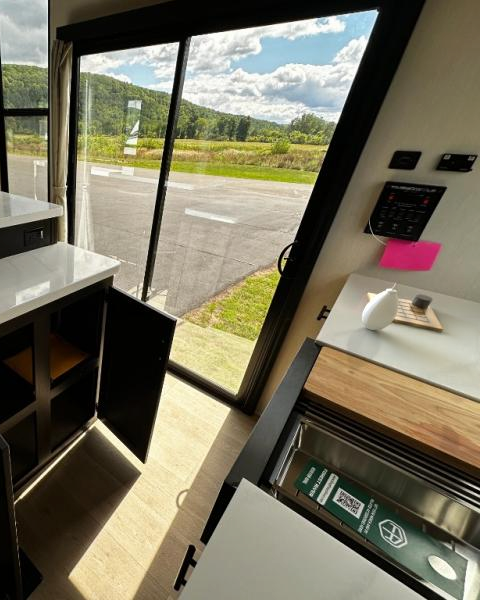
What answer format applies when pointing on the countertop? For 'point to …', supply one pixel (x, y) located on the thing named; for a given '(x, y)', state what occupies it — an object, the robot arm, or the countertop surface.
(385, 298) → the white air blower bulb
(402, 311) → the board
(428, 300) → the stone
